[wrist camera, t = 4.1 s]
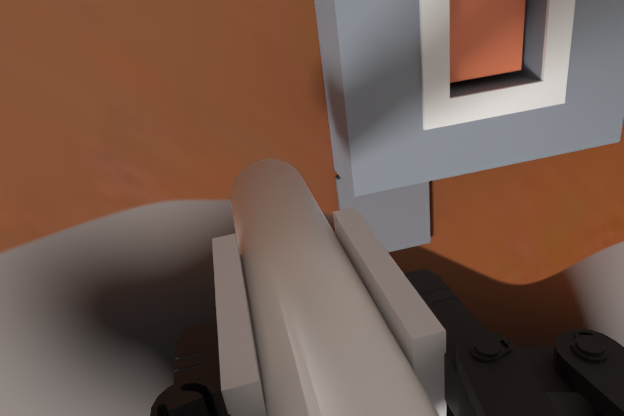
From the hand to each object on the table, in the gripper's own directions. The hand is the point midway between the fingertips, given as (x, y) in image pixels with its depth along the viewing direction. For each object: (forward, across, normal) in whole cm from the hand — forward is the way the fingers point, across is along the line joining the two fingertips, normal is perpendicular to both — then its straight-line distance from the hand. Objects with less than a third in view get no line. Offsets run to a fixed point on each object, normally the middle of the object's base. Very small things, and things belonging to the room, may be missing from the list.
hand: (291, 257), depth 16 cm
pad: (+13, +8, -6) cm, 16 cm away
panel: (+13, +13, +5) cm, 19 cm away
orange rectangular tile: (+10, +13, +5) cm, 17 cm away
